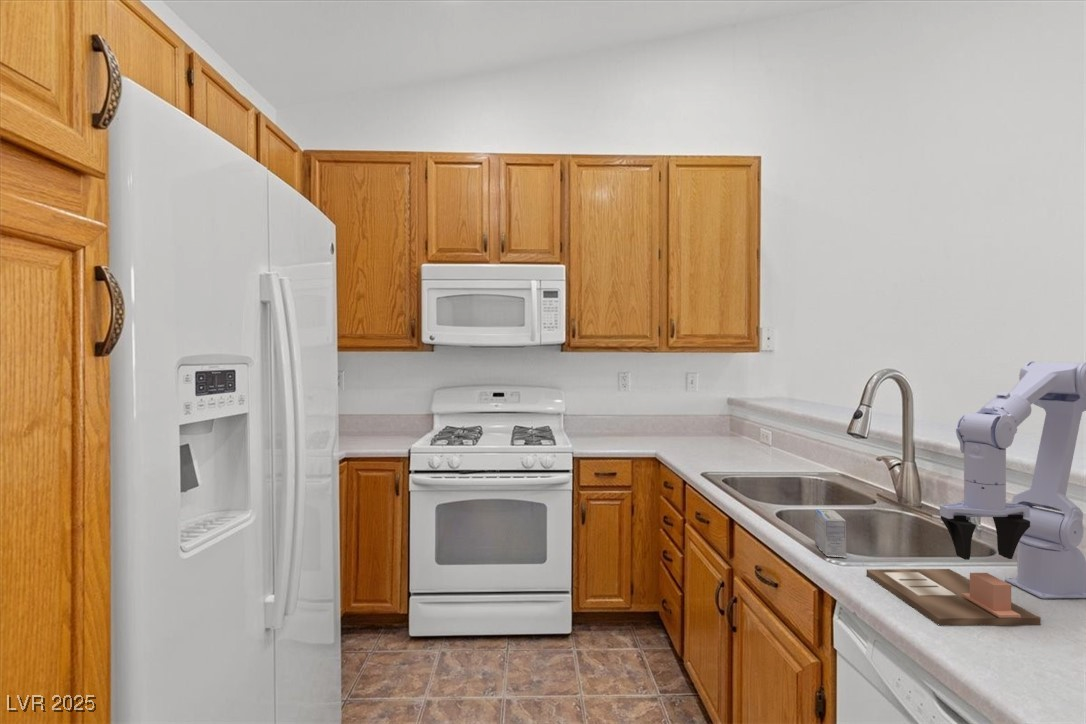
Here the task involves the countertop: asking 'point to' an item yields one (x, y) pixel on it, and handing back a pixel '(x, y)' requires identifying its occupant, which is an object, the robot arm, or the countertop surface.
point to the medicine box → (830, 532)
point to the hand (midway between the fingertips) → (984, 557)
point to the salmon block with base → (991, 594)
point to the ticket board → (943, 597)
